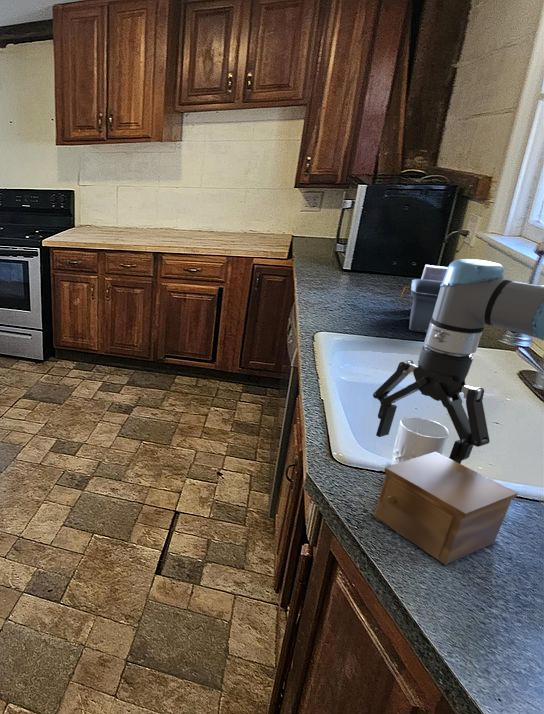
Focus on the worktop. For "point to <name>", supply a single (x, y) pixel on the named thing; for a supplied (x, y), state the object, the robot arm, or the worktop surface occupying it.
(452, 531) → the cupboard
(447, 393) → the robot arm
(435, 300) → the storage bin
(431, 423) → the white cup
